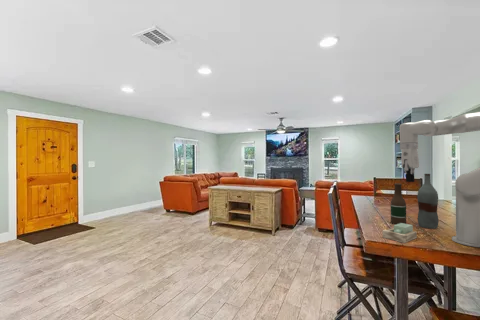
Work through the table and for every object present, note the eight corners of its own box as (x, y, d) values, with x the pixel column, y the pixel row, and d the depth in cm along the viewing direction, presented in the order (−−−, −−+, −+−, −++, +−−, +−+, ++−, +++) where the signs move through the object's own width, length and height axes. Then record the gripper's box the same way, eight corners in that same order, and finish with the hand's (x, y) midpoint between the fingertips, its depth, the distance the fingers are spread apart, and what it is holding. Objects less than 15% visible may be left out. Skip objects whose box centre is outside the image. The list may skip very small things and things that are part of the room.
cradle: (416, 237, 113) (416, 230, 113) (404, 242, 106) (404, 235, 106) (395, 232, 121) (395, 226, 121) (382, 237, 114) (382, 230, 114)
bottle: (412, 225, 115) (401, 228, 109) (412, 235, 115) (401, 239, 109) (401, 222, 119) (390, 226, 113) (401, 232, 119) (390, 236, 113)
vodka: (421, 228, 128) (420, 174, 128) (414, 223, 137) (414, 173, 137) (442, 229, 125) (441, 174, 125) (434, 225, 134) (433, 173, 134)
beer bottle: (409, 225, 133) (409, 184, 133) (396, 225, 133) (395, 184, 133) (400, 222, 141) (400, 182, 141) (387, 222, 141) (387, 182, 141)
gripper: (412, 145, 113) (413, 183, 113) (422, 146, 122) (424, 181, 122) (394, 146, 119) (396, 182, 119) (406, 147, 128) (407, 180, 128)
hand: (410, 181), depth 120 cm, fingers closed
